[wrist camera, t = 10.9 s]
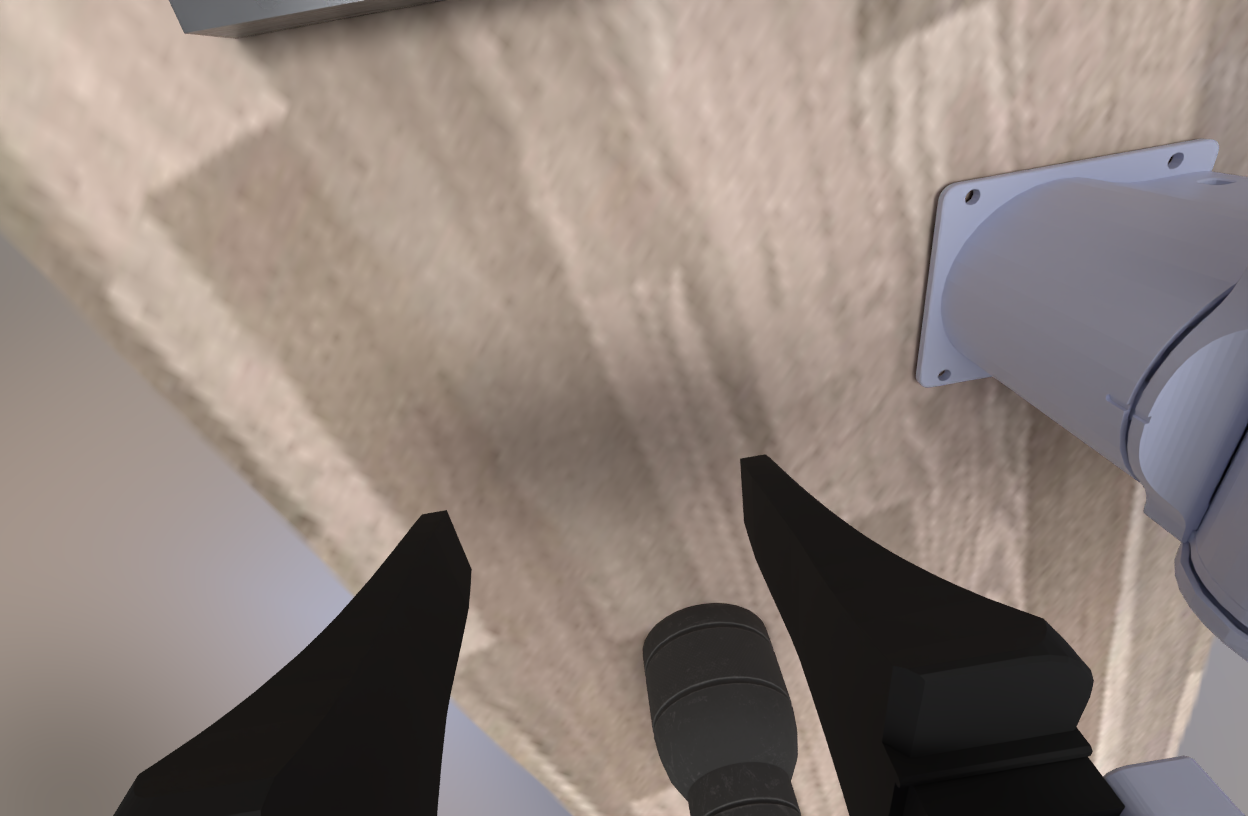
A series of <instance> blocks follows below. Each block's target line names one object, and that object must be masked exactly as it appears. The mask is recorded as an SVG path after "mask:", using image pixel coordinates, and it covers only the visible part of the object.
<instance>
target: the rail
mask: <svg viewBox="0 0 1248 816" xmlns="http://www.w3.org/2000/svg"><path fill="white" fill-rule="evenodd" d="M437 1H443V0H169V2H170V4H171V6H172V8H173V10H174V12H175V14H176V17H177V19H178V21H179V23H180V25H181V27H182V29H183V31H184V33H185V34H195V35H205V36H215V37H225V38H235V39H236V38H242V37H247V36H253V35H258V34H264V33H269V32H274V31H280V30H285V29H291V28H296V27H301V26H307V25H312V24H318V23H323V22H329V21H334V20H339V19H345V18H350V17H356V16H361V15H367V14H372V13H377V12H383V11H388V10H394V9H399V8H405V7H410V6H415V5H421V4H426V3H432V2H437Z"/></svg>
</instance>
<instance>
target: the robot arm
mask: <svg viewBox="0 0 1248 816" xmlns="http://www.w3.org/2000/svg"><path fill="white" fill-rule="evenodd" d="M1218 151H1219V145H1218V142H1217V141H1215V140H1212V139H1196V140H1190V141H1185V142H1179V143H1173V144H1168V145H1162V146H1157V147H1151V148H1146V149H1140V150H1134V151H1129V152H1123V153H1118V154H1112V155H1107V156H1101V157H1095V158H1090V159H1084V160H1079V161H1073V162H1067V163H1062V164H1056V165H1051V166H1045V167H1040V168H1034V169H1028V170H1023V171H1017V172H1012V173H1006V174H1001V175H995V176H989V177H984V178H978V179H973V180H967V181H962V182H956V183H953V184H950V185H948V186H947V187H946V188H944V189H943V191H942V192H941V194H940V196H939V199H938V206H937V214H936V222H935V229H934V237H933V245H932V253H931V261H930V269H929V276H928V284H927V292H926V300H925V308H924V315H923V323H922V331H921V339H920V347H919V355H918V362H917V370H916V380H917V381H918V383H920V384H921V385H922V386H924V387H936V386H941V385H947V384H953V383H958V382H964V381H970V380H976V379H981V378H987V377H994V378H996V379H997V380H998V381H1000V382H1001V383H1002V384H1004V385H1005V386H1007V387H1008V388H1009V389H1011V390H1012V391H1014V392H1015V393H1016V394H1018V395H1019V396H1021V397H1022V398H1023V399H1025V400H1026V401H1027V402H1029V403H1030V404H1032V405H1033V406H1034V407H1036V408H1037V409H1039V410H1040V411H1041V412H1043V413H1044V414H1045V415H1047V416H1048V417H1050V418H1051V419H1052V420H1054V421H1055V422H1057V423H1058V424H1059V425H1061V426H1062V427H1063V428H1065V429H1066V430H1068V431H1069V432H1070V433H1072V434H1073V435H1075V436H1076V437H1077V438H1079V439H1080V440H1081V441H1083V442H1084V443H1086V444H1087V445H1088V446H1090V447H1091V448H1093V449H1094V450H1095V451H1097V452H1098V453H1099V454H1101V455H1102V456H1104V457H1105V458H1106V459H1108V460H1109V461H1111V462H1112V463H1113V464H1115V465H1116V466H1117V467H1119V468H1120V469H1122V470H1123V471H1124V472H1126V473H1127V474H1129V475H1130V476H1131V477H1133V478H1134V479H1136V480H1137V481H1139V482H1140V483H1141V484H1142V485H1143V487H1144V488H1145V491H1146V504H1145V507H1144V514H1146V515H1147V516H1148V517H1150V518H1151V519H1152V520H1154V521H1155V522H1156V523H1157V524H1159V525H1160V526H1161V527H1163V528H1164V529H1165V530H1167V531H1168V532H1169V533H1170V534H1172V535H1173V536H1174V537H1176V538H1177V539H1178V540H1180V541H1181V544H1180V546H1179V548H1178V551H1177V554H1176V557H1175V577H1176V580H1177V583H1178V587H1179V590H1180V592H1181V593H1182V595H1183V597H1184V599H1185V600H1186V602H1187V604H1188V605H1189V607H1190V608H1191V609H1192V611H1193V612H1194V613H1195V614H1196V615H1197V617H1198V618H1199V619H1200V620H1201V622H1202V623H1203V624H1204V625H1205V626H1206V627H1207V628H1208V629H1209V630H1210V631H1211V632H1212V633H1213V634H1214V635H1215V636H1216V637H1218V638H1219V639H1220V640H1221V641H1222V642H1223V643H1224V644H1225V645H1226V646H1228V647H1229V648H1230V649H1232V650H1233V651H1234V652H1235V653H1237V654H1238V655H1239V656H1241V657H1242V658H1243V659H1245V660H1246V661H1247V662H1248V177H1245V176H1238V175H1232V174H1225V173H1219V172H1212V169H1213V166H1214V163H1215V160H1216V157H1217V155H1218ZM1172 156H1173V159H1172V161H1171V162H1170V163H1169V164H1168V161H1169V159H1170V158H1171V157H1172ZM971 190H973V196H972V198H971V199H970V200H969V201H968V202H966V203H965V197H966V195H967V193H968V192H969V191H971ZM943 370H945V372H944V373H943V374H942V375H941V376H938V375H939V373H940V372H941V371H943ZM740 463H741V479H742V496H743V513H744V523H745V527H746V530H747V533H748V536H749V540H750V543H751V546H752V549H753V552H754V555H755V559H756V561H757V563H758V566H759V568H760V570H761V572H762V575H763V577H764V579H765V581H766V583H767V586H768V588H769V590H770V592H771V595H772V597H773V599H774V601H775V603H776V606H777V608H778V610H779V612H780V614H781V617H782V619H783V621H784V623H785V626H786V628H787V630H788V632H789V634H790V637H791V639H792V641H793V644H794V646H795V649H796V651H797V654H798V656H799V659H800V662H801V665H802V668H803V671H804V674H805V677H806V680H807V683H808V686H809V689H810V691H811V694H812V697H813V700H814V704H815V707H816V710H817V713H818V716H819V719H820V722H821V725H822V728H823V731H824V734H825V737H826V741H827V744H828V747H829V750H830V753H831V757H832V760H833V763H834V766H835V769H836V773H837V776H838V779H839V782H840V786H841V789H842V792H843V795H844V799H845V802H846V806H847V809H848V812H849V816H1245V815H1244V814H1243V813H1242V812H1241V810H1240V809H1239V808H1238V807H1237V806H1236V805H1235V804H1234V803H1233V802H1232V801H1231V799H1230V798H1229V797H1228V796H1227V795H1226V794H1225V793H1224V792H1223V791H1222V789H1221V788H1220V787H1219V786H1218V785H1217V784H1216V783H1215V782H1214V781H1213V780H1212V778H1211V777H1209V775H1208V774H1207V773H1206V772H1205V771H1204V770H1203V769H1202V768H1201V766H1200V765H1199V764H1198V763H1197V762H1196V761H1195V760H1194V759H1193V758H1191V757H1187V756H1179V757H1173V758H1167V759H1161V760H1155V761H1150V762H1144V763H1138V764H1132V765H1126V766H1123V767H1119V768H1116V769H1114V770H1112V771H1110V772H1108V773H1106V774H1105V775H1104V776H1102V775H1101V774H1100V772H1099V771H1098V770H1097V768H1096V767H1095V766H1094V764H1093V763H1092V762H1091V760H1090V759H1089V758H1088V756H1091V754H1092V752H1093V751H1092V748H1091V745H1090V744H1089V743H1088V742H1087V740H1086V739H1085V738H1084V736H1083V735H1082V734H1081V732H1080V731H1079V730H1078V729H1077V727H1076V726H1077V724H1078V722H1079V720H1080V718H1081V715H1082V713H1083V711H1084V709H1085V707H1086V705H1087V703H1088V700H1089V698H1090V695H1091V691H1092V687H1093V682H1094V680H1093V676H1092V672H1091V670H1090V669H1089V667H1088V666H1087V665H1086V664H1085V663H1084V662H1083V661H1082V659H1081V658H1080V657H1079V656H1078V655H1077V654H1076V652H1075V651H1074V650H1073V649H1072V648H1071V646H1070V645H1069V644H1068V643H1067V642H1066V641H1065V640H1064V639H1063V638H1062V637H1061V636H1060V635H1059V634H1058V633H1057V632H1056V631H1055V630H1054V629H1053V628H1052V627H1051V626H1050V625H1049V624H1048V623H1047V622H1046V621H1045V620H1044V619H1043V618H1040V617H1037V616H1035V615H1032V614H1029V613H1026V612H1024V611H1021V610H1018V609H1015V608H1013V607H1010V606H1007V605H1004V604H1002V603H999V602H996V601H993V600H991V599H988V598H986V597H983V596H981V595H978V594H976V593H974V592H971V591H969V590H967V589H964V588H962V587H960V586H957V585H955V584H953V583H951V582H948V581H946V580H944V579H942V578H940V577H938V576H936V575H934V574H932V573H930V572H928V571H926V570H924V569H922V568H920V567H918V566H916V565H914V564H912V563H910V562H908V561H906V560H905V559H903V558H901V557H899V556H897V555H896V554H894V553H892V552H890V551H889V550H887V549H885V548H884V547H882V546H881V545H879V544H877V543H876V542H874V541H872V540H871V539H869V538H868V537H866V536H865V535H863V534H862V533H860V532H859V531H857V530H856V529H854V528H853V527H852V526H850V525H849V524H848V523H846V522H845V521H843V520H842V519H841V518H839V517H838V516H837V515H835V514H834V513H833V512H831V511H830V510H829V509H828V508H826V507H825V506H824V505H823V504H821V503H820V502H819V501H818V500H817V499H815V498H814V497H813V496H812V495H810V494H809V493H808V492H807V491H806V490H805V489H803V488H802V487H801V486H800V485H799V484H798V483H797V482H795V481H794V480H793V479H792V478H791V477H790V476H789V475H788V474H787V473H786V472H784V471H783V470H782V469H781V468H780V467H779V466H778V465H777V464H776V463H775V462H774V461H773V460H772V459H771V458H770V457H768V456H767V455H759V456H753V457H747V458H742V459H740ZM471 570H472V569H471V567H470V564H469V562H468V560H467V557H466V555H465V553H464V550H463V548H462V545H461V543H460V541H459V538H458V536H457V534H456V531H455V529H454V526H453V524H452V522H451V519H450V517H449V515H448V512H447V510H445V511H439V512H433V513H428V514H422V515H421V516H420V518H419V519H418V520H417V521H416V522H415V524H414V525H413V526H412V527H411V529H410V530H409V531H408V532H407V534H406V535H405V536H404V537H403V539H402V540H401V541H400V543H399V544H398V545H397V546H396V548H395V549H394V550H393V551H392V553H391V554H390V555H389V556H388V558H387V559H386V560H385V561H384V563H383V564H382V565H381V566H380V568H379V569H378V570H377V571H376V572H375V574H374V575H373V576H372V577H371V579H370V580H369V581H368V582H367V583H366V584H365V585H364V587H363V588H362V589H361V590H360V591H359V592H358V593H357V595H356V596H355V597H354V598H353V599H352V600H351V601H350V602H349V604H348V605H347V606H346V607H345V608H344V609H343V610H342V612H341V613H340V614H339V615H338V616H337V617H336V618H335V619H334V620H333V621H332V622H331V623H330V624H329V625H328V626H327V627H326V628H325V629H324V630H323V631H322V633H320V634H319V635H318V636H317V637H316V638H315V639H314V640H313V641H312V642H311V643H310V644H309V645H308V646H307V647H306V648H305V649H304V650H303V651H301V652H300V654H298V655H297V656H296V657H295V658H294V659H293V660H291V661H290V662H289V663H288V664H287V665H286V666H284V667H283V668H282V669H281V670H280V671H279V672H278V673H276V675H274V676H273V677H272V678H271V679H269V680H268V681H267V682H266V683H265V684H264V685H262V686H261V687H260V688H259V689H258V690H256V692H254V693H253V694H251V696H249V697H248V698H246V699H245V700H244V701H243V702H241V703H240V704H239V705H237V706H236V707H235V708H234V709H232V710H231V711H230V712H228V713H227V714H226V715H224V716H223V717H222V718H220V719H219V720H218V721H216V722H215V723H214V724H212V725H211V726H209V727H208V728H207V729H205V730H204V731H202V732H201V733H200V734H198V735H197V736H196V737H194V738H192V739H191V740H189V741H188V742H187V743H185V744H184V745H182V746H181V747H179V748H178V749H176V750H175V751H173V752H172V753H170V754H169V755H167V756H166V757H164V758H163V759H161V760H160V761H158V762H157V763H155V764H154V765H153V766H151V767H149V768H148V769H146V770H145V771H143V772H142V773H140V774H139V775H138V776H137V778H136V780H135V781H134V783H133V784H132V786H131V788H130V789H129V791H128V792H127V794H126V796H125V797H124V799H123V801H122V802H121V804H120V805H119V807H118V809H117V811H116V812H115V814H114V815H113V816H437V810H438V797H439V785H440V774H441V763H442V753H443V743H444V734H445V725H446V717H447V711H448V705H449V700H450V694H451V690H452V685H453V681H454V676H455V671H456V667H457V662H458V657H459V653H460V648H461V643H462V639H463V634H464V629H465V624H466V619H467V614H468V609H469V599H470V586H471Z"/></svg>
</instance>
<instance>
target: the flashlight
mask: <svg viewBox="0 0 1248 816" xmlns="http://www.w3.org/2000/svg"><path fill="white" fill-rule="evenodd" d="M643 660H644V668H645V676H646V684H647V691H648V698H649V706H650V713H651V720H652V728H653V733H654V739H655V742H656V746H657V750H658V753H659V756H660V759H661V762H662V764H663V766H664V768H665V770H666V772H667V774H668V777H669V779H670V781H671V783H672V784H673V785H674V786H675V788H676V789H677V790H678V791H679V792H680V793H681V794H682V796H683V797H684V798H685V799H686V800H687V801H688V804H689V810H690V816H801V813H800V809H799V806H798V803H797V800H796V796H795V793H794V790H793V787H792V784H791V779H792V776H793V772H794V769H795V765H796V762H797V757H798V744H797V727H796V722H795V716H794V711H793V707H792V705H791V700H790V697H789V694H788V691H787V688H786V685H785V682H784V679H783V676H782V673H781V670H780V667H779V664H778V661H777V658H776V655H775V653H774V651H773V647H772V644H771V641H770V638H769V635H768V633H767V630H766V628H765V626H764V624H763V622H762V621H761V620H760V619H759V618H758V617H757V616H756V615H755V614H753V613H752V612H750V611H749V610H746V609H744V608H741V607H739V606H734V605H729V604H703V605H698V606H693V607H689V608H686V609H683V610H681V611H678V612H676V613H674V614H672V615H670V616H668V617H666V618H665V619H664V620H662V621H661V622H660V623H658V624H657V625H656V626H655V627H654V628H653V629H652V631H651V632H650V633H649V635H648V636H647V638H646V640H645V643H644V646H643Z"/></svg>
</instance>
